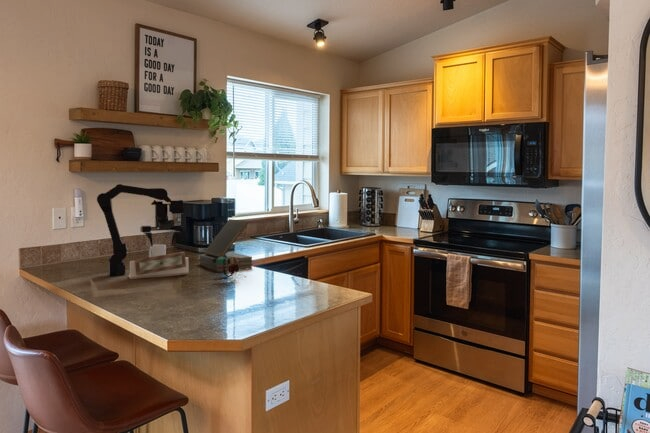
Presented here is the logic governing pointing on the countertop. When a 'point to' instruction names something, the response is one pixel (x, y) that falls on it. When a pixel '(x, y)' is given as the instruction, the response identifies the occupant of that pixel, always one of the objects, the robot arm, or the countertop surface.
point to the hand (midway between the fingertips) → (161, 246)
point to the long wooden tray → (158, 274)
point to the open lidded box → (225, 247)
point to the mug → (157, 250)
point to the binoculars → (226, 261)
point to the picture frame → (160, 263)
